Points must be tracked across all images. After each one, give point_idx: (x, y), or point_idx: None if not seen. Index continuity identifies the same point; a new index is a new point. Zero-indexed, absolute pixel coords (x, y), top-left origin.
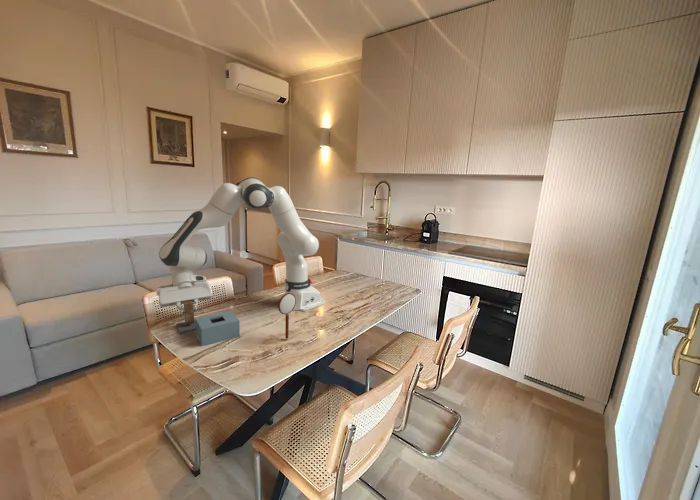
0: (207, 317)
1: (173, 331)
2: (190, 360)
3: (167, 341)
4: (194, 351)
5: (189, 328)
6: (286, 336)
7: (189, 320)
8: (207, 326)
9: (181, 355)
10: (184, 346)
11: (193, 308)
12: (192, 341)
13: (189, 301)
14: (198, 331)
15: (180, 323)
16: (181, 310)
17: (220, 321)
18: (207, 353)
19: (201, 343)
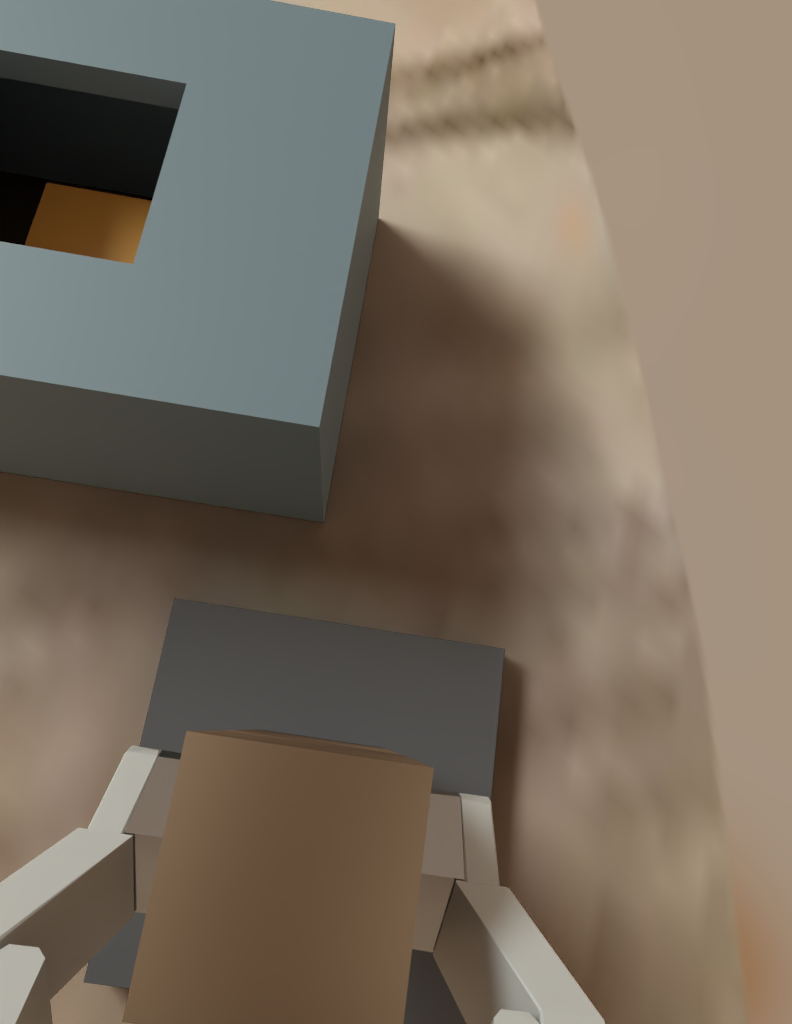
0: (135, 317)
1: (543, 814)
2: (549, 73)
3: (659, 560)
4: (475, 178)
5: (358, 678)
6: None
7: (332, 741)
8: (292, 40)
9: (594, 190)
10: (528, 326)
11: None
12: (426, 374)
13: (218, 983)
14: (352, 315)
15: (410, 982)
16: (488, 827)
17: (55, 56)
18: (391, 76)
19: (373, 241)
